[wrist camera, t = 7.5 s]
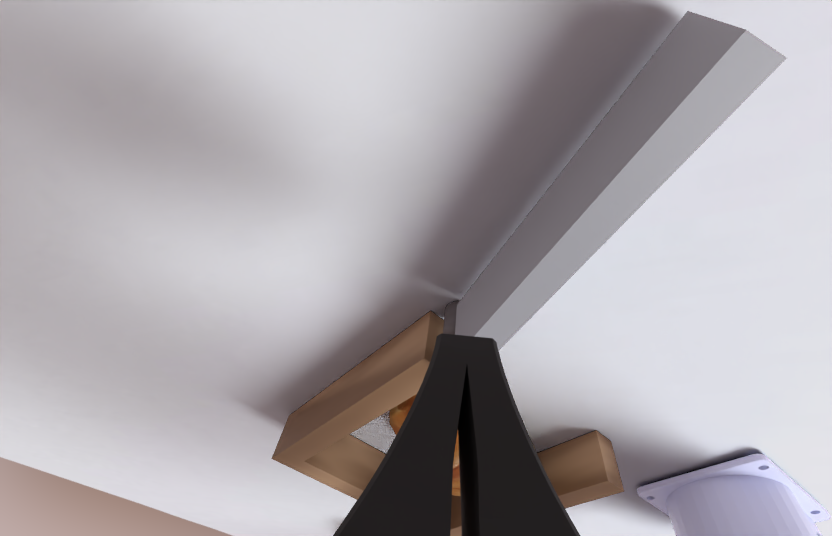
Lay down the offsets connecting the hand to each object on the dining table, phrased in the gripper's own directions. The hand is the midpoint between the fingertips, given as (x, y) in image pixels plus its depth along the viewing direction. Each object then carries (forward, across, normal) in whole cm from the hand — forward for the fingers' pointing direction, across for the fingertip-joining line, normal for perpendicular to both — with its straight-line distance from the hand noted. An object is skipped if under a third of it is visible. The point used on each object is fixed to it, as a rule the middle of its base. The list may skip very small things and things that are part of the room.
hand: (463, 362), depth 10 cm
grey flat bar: (+7, -3, -1) cm, 8 cm away
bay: (+8, 0, +16) cm, 18 cm away
